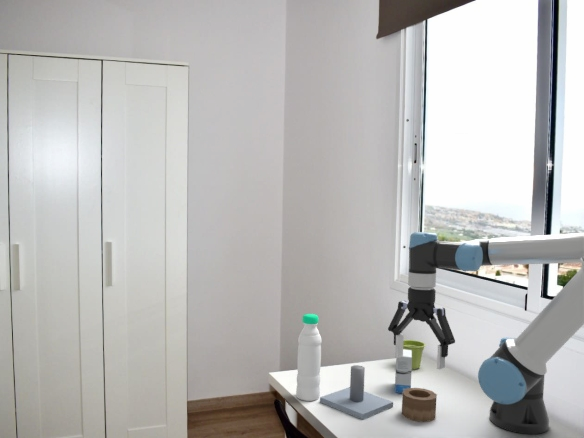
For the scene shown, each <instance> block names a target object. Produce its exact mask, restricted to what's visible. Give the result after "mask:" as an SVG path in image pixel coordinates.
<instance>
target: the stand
mask: <svg viewBox="0 0 584 438" xmlns="http://www.w3.org/2000/svg"><path fill="white" fill-rule="evenodd" d="M365 368H366V367H364V366H363V365H355V364H354V365H351V366H350V380H349V381H350V382H349V387H346V388H343V389H340V390H338V391H334V392H331V393H328V394H325V395H323V396H319V403H320V404H323V405H326V406H328V407H331V408H334V409H335V410H339V411H341V412H343V413H345V414H348V415H351V416H353V417H356V418H357V419H361V420H365V419H368V418H370V417H372V416H374V415H377V414H380V413H382V412H385V411H386V410H389V409H391V408H394V401H392V400H389V399H387V398H383V397H380V396H378V395H375V394H373V393H369V392H367V391H365V371H366V369H365Z"/></svg>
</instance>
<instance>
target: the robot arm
mask: <svg viewBox="0 0 584 438" xmlns="http://www.w3.org/2000/svg"><path fill="white" fill-rule="evenodd" d="M408 250H409V251H408V256H409V257H408V274H407V275H408V278H407V279H408V280H407V282H408V283H407V284H408V288H407V301H406V300H401V301H398V303H397V304H398V305H397V309H396V311H395V312H394V313H395V314H394V315H393V317H392V319H391V321H390V324H389V326H388V328H387V331H389V332H391V333H392V334H393V345H394V346H395V352H394V353H395V359H396V358H400V357H403V340H404V336H405V334H403V331H404V330H405V329H406V328H407V327H408V325H409V324H411V322H412V321H413V320H414V321H420V322H423V323H424V322H425V323H426V324H427V325H428V326H429V328H430V329H431V331H432V332H433V334H434V336H435V337H436V339H437V340H438V342H439V343H440V344H437V355H436V356H437V357H436V359H437V363H436V367H437V368H436V369H437V370H441V369H444V368H445V367H446V366H445V365H446V358H447V357H448V355H449V345H453V344H455V343H456V339H455V337H454V334H453V332H452V329H451V327H450V324H449V321H448V319H447V316H446V314H447V313H446V308H445V307H436V306H435V303H436V289H435V287H436V286H437V285H436V284H437V269H446V270H456V271H462V272H478V271H479V270H480V268H481V267H482V266H483V267H486V266H505V265H507V266H508V265H513V266H514V265H548V264H552V265H553V264H581V266H580V267H581V268H580V269H579V270H577V272H576V273H575V274H574V276H573V277H572V278H571V279H570V280H569V281H568V282H567V283H566V284H565V286H563V287H562V289H560V291H558V293H557V294H556V295H555V296H554V297H553V298H552V299H551V301H550V302H549V303H547V305H546V306H545V307H544V308H543V310H541V311H540V313H539V314H537V316H536V317H535V318H534V319H533V320H532V321H531V322H530V323H529V324H528V325H527V326H526V328H524V330H523V331H522V332H521V333H520V334H519V335H518V336H517V337H502V338H501V339H500V340H499V344H498V349H497V350H496V351H495V352H494V353H493V354H492V355H490V356H489V358H487V359H485V360H484V361H483V362H482V363H481V365H480V367H479V369H478V373H477V378H478V384H479V387H480V389H481V390H482V392H483V393H484V394H485V396H487V397H488V398H489V399H491V400H492V401H493V402H492V404H491V406H490V409H489V420H490V421H491V422H492V424H494V426H495V425H496V426H497V427H499V428H502V429H504V430H506V431H510V432H514V433H520V434H526V435H539V434H543V433H546V432H547V431H548V430H549V429H550V427H549V426H550V419H549V416H548V415H549V414H548V411H547V408H546V404H545V401H544V388H545V376H546V374H547V372H548V371H547V363H548V362H549V361H550V360H551V359H552V358H553V357H554V356H555V355H556V353H558V352H559V350H560V349H561V348H563V347H564V345H566V344H567V342H568V341H569V340H570V339H571V338H572V337H573V336H574V335H575V334H576V333H577V332H578V331H579V330H580V329H581V328H582V327H583V326H584V232H579V233H578V232H576V233H561V234H559V233H558V234H545V235H529V236H515V237H514V236H513V237H512V236H511V237H495V238H494V237H493V238H473V239H469V240H464V241H463V240H462V241H446V240H445V241H444V240H439V238H438V234H437V233H436V232H425V231H424V232H423V231H420V232H419V231H417V232H412V233H411V234H410V235H409V247H408ZM406 310H408V313H407V314H406V315H405V317H404V318H403V320H402V317H403V316H404V314H405V312H406ZM434 314H435V315H434ZM435 316H436V317H435ZM401 320H402V321H401ZM437 320H438V321H437Z"/></svg>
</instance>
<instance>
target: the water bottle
mask: <svg viewBox="0 0 584 438" xmlns="http://www.w3.org/2000/svg"><path fill="white" fill-rule="evenodd" d="M319 319H320V318H319V316H318V315H317V314H315V313H307V314H303V316H302V324H303V328H302V329H301V331H300V333H299V335H298V338H297V341H298V347H297V359H296V360H297V362H296V363H297V373H296V374H297V375H296V389H295V390H296V391H295V393H296V394H295V395H296V397H297V399H299V400H300V401H303V402H304V401H305V402H313V401H316V400H318V399H320V397H321V396H320V394H321V392H320V390H321V389H320V384H321V374H320V373H321V364H322V345H321V344H322V336H321V334H320V330H319V329H318V324H319Z"/></svg>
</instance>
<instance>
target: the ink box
mask: <svg viewBox="0 0 584 438" xmlns="http://www.w3.org/2000/svg"><path fill="white" fill-rule="evenodd" d="M412 370H413V369H412V350H405V349H403V357H400V358H395V374H394V375H395V380H394V382H395V383H394V390H395V391H394V392H395V393H399V394H403V390H405V389H408V388H412Z"/></svg>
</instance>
